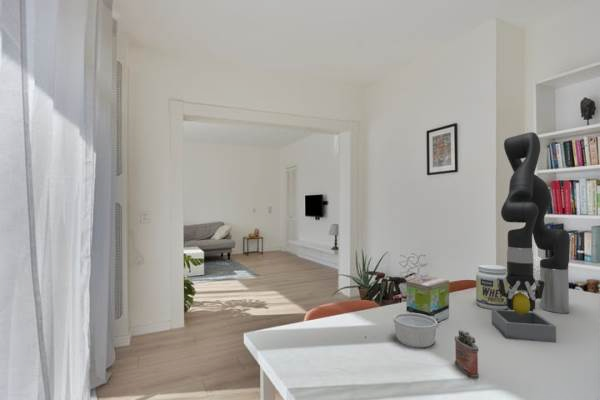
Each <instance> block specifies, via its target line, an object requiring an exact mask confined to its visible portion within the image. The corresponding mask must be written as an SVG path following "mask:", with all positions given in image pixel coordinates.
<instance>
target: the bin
mask: <svg viewBox="0 0 600 400" xmlns="http://www.w3.org/2000/svg"><path fill="white" fill-rule="evenodd" d="M491 324H492V325H493V326H494V327H495V328H496V329H497V330H498V332H500V334H502V335H503V337H504V338H505V339H509V340H510V339H511V340H522V341H533V342H545V343H546V342H547V343H557V326H556V325H555V324H554V323H552V322H550V321H549V320H547V319H546V318H544V317H543V316H541V315H540V314H538V313H537V312H536V311H529V312H528V313H526V314H523V315H522V316H520V315H519V314H518V313H516V312H515V311H514V310H510V309H509V310H508V309H504V310H494V309H491Z"/></svg>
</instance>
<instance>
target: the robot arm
mask: <svg viewBox="0 0 600 400" xmlns="http://www.w3.org/2000/svg"><path fill="white" fill-rule="evenodd" d="M503 147H504V148H503V149H504V151H505V155H506V158H507V160H508V162H509V164H510V167H511V169H512V171H513V174H512V175H511V177H510V179H509V187H508V195H507V197H506V198H505V201H504V202H503V205H502V207H501V210H500V216H501V217H502V218H501V219H503V221H504V222H507V223H516V224H517V223H519V224H523V223H525V224H524V226H523V227H521V228H515V229H510V230H508V232H507V250H506V271H507V272H506V274H507V276H506V278H501V279H500V278H497V283H498V287H499V292H500V295H502V296H503V297H506V306H507V307H508V308H507V309H509V311H514V310H513V299H512V297H513V295H514V294H516V293H517V291H519V292H520V291H523V292H524V291H525V293H526V294H527V295H526V296H527V297H528V298H529V300H530V310H529V312H534V311H535V310H536V300H539V299H540V308H541V310H544V311H546V312H552V313H559V314H567V313H569V312H570V305H569V304H570V294H569V293H570V292H569V291H570V288H569V285H570V284H569V264H570V253H571V252H570V250H571V249H570V248H571V237H570V233H569V232H568V231H567V230H566V229H562V228H549V227H548V228H547V226H546V223H545V217H546V214H547V212H548V210H549V208H550V206H551V204H552V196H551V193H550V188H549V186H548V185H547V182H546V181H544V180H543V179H542V178H540V177H539V176H538V175H537V174H536V173H535V171H536V168H537V165H538V163H539V162H538V161H539V157H540V154H541V141H540V138H539V135H537V133H535V132H533V131H530V132H526V133H522V134H518V135H514V136H511V137H507V138H505V139H504V142H503ZM522 159H524V160H522ZM533 242H534V243H535V245H536V248H538V249H540V250H542V251H548V252H553V256H551V257H548V258H542V260H540V268H539V269H540V274H539V275H540V280H535V279H534V276H533V264H534V263H533V261H535V260H534V258H533V256H534V251H533ZM506 281H507V282H508V283H509V287H508V291H507V293H506V292H505V287H504V285H505V284H506ZM534 283H535V285H536V289H534V290H533V291H532V289H531V286H532V285H533V284H534Z"/></svg>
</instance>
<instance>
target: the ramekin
mask: <svg viewBox="0 0 600 400" xmlns="http://www.w3.org/2000/svg"><path fill="white" fill-rule="evenodd" d="M393 323H394V329H395V330H394V332H395V336H396V337H395V338H396V339H398V342H400V344H403V345H405V346H408V347H412V348H419V349H420V348H429V347H430V346H433V344H434V343H435V340H436V334H437V328H438V322H437V321H436V320H435V319H434V318H432V317H430V316H427V315H423V314H418V313H406V312H400V313H397V314H395V315H394V316H393Z"/></svg>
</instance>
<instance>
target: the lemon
mask: <svg viewBox="0 0 600 400" xmlns="http://www.w3.org/2000/svg"><path fill="white" fill-rule="evenodd" d="M512 299H513V310H512V311H515V312H516V313H518V314H519V315H520V316H522V315H523V314H526V313H528V312H530V300H529V297H528V295H526V294H524V292H522V291H519V292H515V293H514V295H513V297H512Z"/></svg>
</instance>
